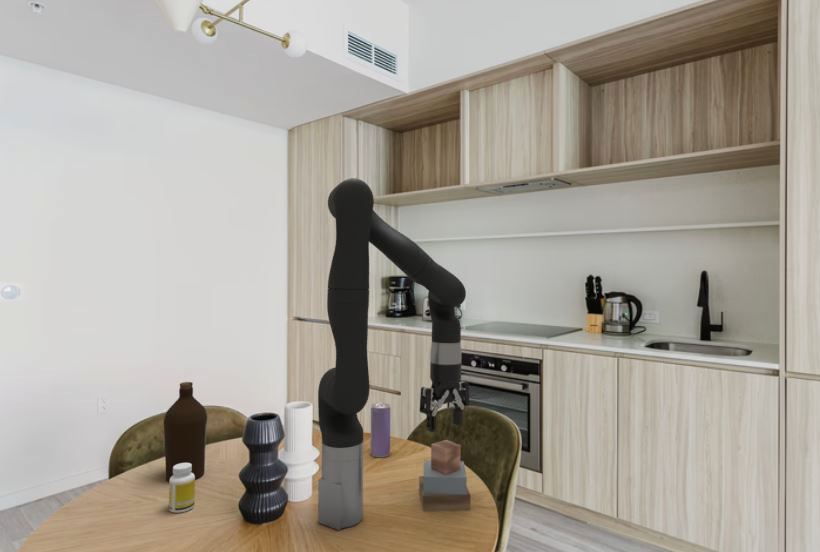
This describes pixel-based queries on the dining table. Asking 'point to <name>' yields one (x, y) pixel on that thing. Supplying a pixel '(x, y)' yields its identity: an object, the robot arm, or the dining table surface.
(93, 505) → the dining table surface
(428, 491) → the slate top slab
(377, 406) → the beverage can
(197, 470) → the olive oil
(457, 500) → the walnut base slab
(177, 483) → the supplement bottle
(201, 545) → the dining table surface
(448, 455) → the terracotta block
